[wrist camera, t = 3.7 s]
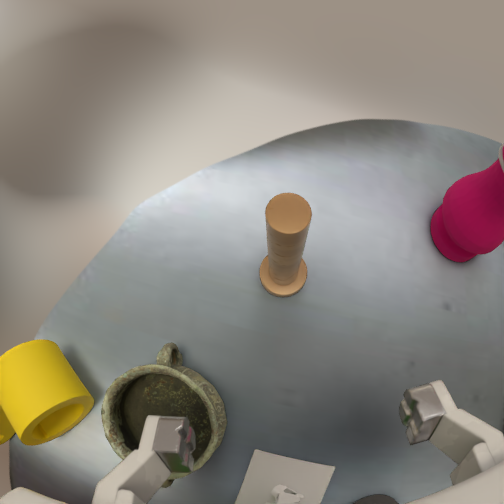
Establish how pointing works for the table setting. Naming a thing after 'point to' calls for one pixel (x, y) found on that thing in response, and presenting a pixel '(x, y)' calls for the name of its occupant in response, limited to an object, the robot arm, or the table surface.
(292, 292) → the muddler
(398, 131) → the table surface
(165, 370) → the vessel
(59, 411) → the crank
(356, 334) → the table surface
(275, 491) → the adhesive hook
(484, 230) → the pepper mill
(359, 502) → the bottle
